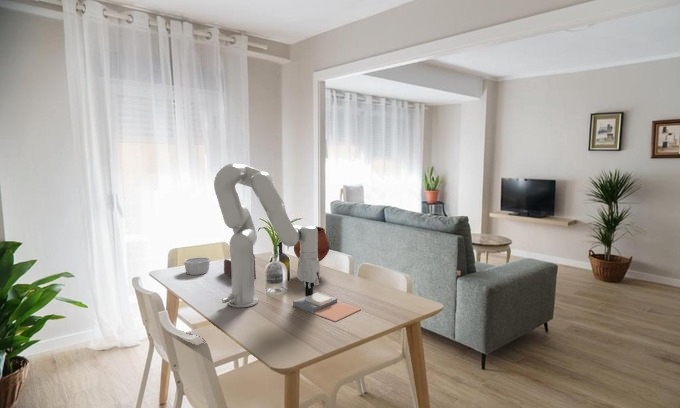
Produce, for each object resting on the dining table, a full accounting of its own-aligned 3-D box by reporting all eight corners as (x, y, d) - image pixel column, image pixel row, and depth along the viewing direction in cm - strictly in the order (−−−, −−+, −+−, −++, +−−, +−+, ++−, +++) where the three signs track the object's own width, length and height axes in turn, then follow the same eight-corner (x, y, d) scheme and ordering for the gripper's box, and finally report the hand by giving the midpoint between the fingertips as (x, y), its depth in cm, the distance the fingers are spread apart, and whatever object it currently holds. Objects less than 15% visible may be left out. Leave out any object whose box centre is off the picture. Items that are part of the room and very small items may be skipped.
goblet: (292, 279, 201) (292, 231, 198) (295, 268, 220) (295, 225, 217) (329, 279, 201) (329, 232, 198) (329, 268, 220) (329, 225, 217)
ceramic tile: (320, 305, 159) (320, 302, 159) (305, 300, 165) (305, 297, 165) (331, 301, 164) (331, 298, 164) (316, 296, 170) (316, 293, 170)
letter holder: (241, 270, 216) (240, 245, 214) (256, 279, 200) (255, 252, 198) (223, 273, 210) (223, 248, 208) (237, 283, 194) (237, 255, 193)
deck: (313, 313, 157) (313, 308, 157) (293, 305, 165) (293, 301, 164) (337, 302, 168) (337, 298, 168) (317, 296, 176) (317, 292, 176)
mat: (335, 322, 148) (335, 321, 148) (313, 313, 156) (313, 312, 156) (360, 309, 160) (360, 309, 160) (338, 302, 168) (338, 301, 168)
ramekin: (192, 268, 219) (192, 256, 218) (214, 269, 217) (214, 257, 216) (179, 275, 206) (179, 262, 205) (203, 276, 204) (202, 263, 203)
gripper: (290, 253, 168) (291, 294, 171) (315, 259, 159) (315, 302, 161) (303, 250, 174) (303, 290, 176) (327, 256, 165) (327, 297, 167)
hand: (309, 295), depth 169 cm, fingers closed
